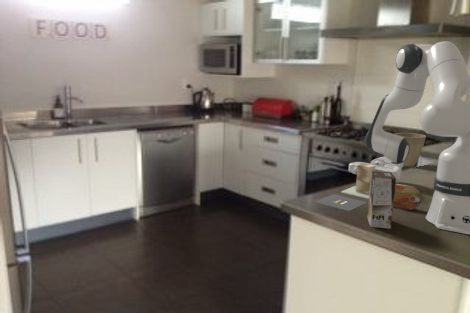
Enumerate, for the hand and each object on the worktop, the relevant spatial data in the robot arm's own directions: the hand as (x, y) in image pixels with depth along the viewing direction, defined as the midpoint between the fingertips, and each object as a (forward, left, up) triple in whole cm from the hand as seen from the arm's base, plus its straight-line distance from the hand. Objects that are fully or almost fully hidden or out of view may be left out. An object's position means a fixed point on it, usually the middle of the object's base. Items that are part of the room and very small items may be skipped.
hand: (365, 174), depth 161 cm
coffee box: (-18, +27, -8) cm, 33 cm away
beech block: (0, 0, -7) cm, 8 cm away
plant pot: (+8, -66, -8) cm, 67 cm away
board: (0, 0, -8) cm, 8 cm away
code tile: (+1, +17, -8) cm, 19 cm away
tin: (-16, +6, -8) cm, 19 cm away
